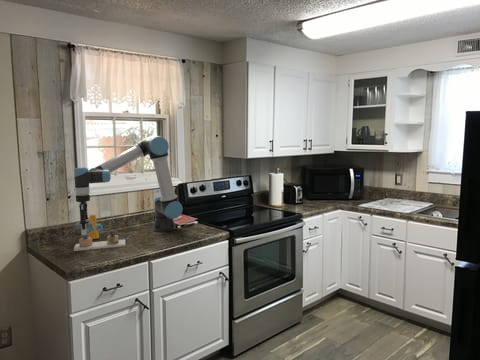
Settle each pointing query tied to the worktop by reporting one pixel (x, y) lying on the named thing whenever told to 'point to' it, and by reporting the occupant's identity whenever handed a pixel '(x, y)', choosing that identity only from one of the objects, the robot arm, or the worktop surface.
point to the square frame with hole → (88, 225)
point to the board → (100, 245)
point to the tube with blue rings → (94, 228)
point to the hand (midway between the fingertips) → (85, 232)
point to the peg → (85, 241)
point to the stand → (112, 238)
